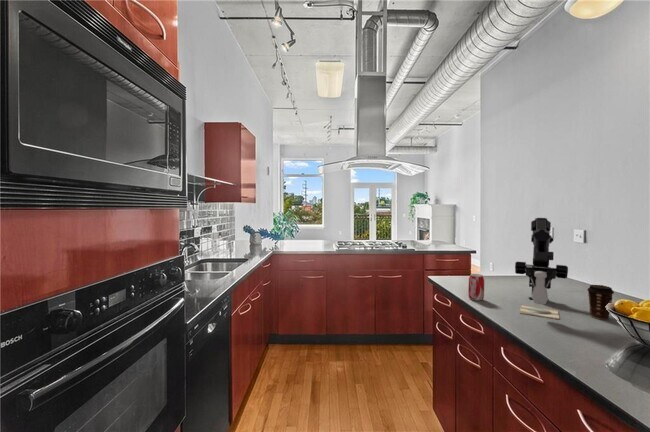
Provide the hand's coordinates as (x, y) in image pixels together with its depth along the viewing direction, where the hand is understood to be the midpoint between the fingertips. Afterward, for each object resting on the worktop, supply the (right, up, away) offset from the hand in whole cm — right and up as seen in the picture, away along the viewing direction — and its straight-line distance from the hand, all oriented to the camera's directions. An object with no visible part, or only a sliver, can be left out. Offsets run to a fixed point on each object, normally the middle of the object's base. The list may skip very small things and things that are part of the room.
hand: (540, 286), depth 143 cm
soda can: (-14, -12, +29) cm, 34 cm away
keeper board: (+5, -13, +9) cm, 17 cm away
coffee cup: (+27, -14, +3) cm, 30 cm away
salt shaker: (+1, -7, +1) cm, 7 cm away
